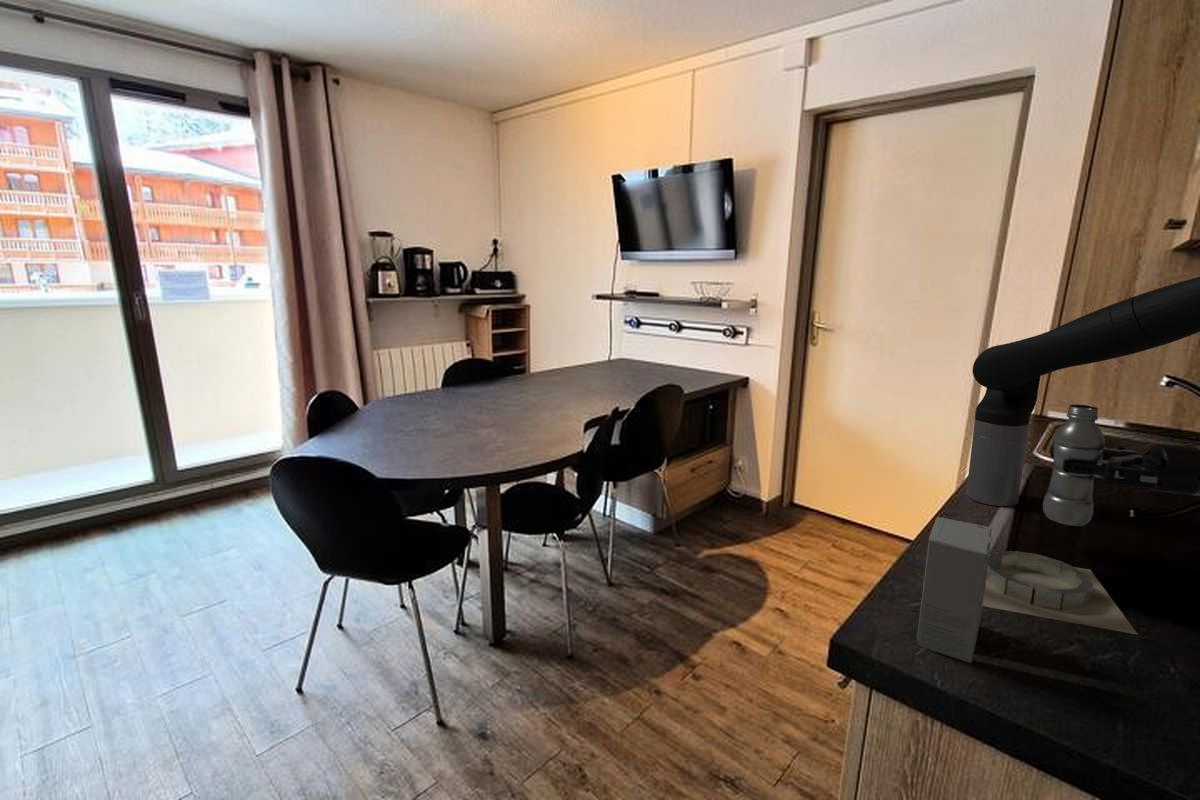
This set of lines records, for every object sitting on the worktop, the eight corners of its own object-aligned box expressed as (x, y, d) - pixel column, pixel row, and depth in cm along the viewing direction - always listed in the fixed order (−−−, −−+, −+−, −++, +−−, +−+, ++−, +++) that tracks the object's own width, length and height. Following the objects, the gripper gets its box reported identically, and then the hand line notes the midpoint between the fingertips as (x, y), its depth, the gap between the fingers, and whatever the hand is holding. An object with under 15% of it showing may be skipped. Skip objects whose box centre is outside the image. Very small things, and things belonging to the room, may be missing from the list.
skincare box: (924, 616, 79) (935, 514, 76) (980, 632, 75) (994, 526, 72) (914, 647, 73) (925, 537, 69) (975, 667, 69) (989, 551, 65)
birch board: (956, 554, 96) (956, 549, 96) (1089, 575, 88) (1090, 569, 88) (973, 610, 80) (973, 604, 80) (1136, 641, 72) (1138, 634, 72)
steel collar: (979, 559, 92) (980, 545, 92) (1073, 574, 87) (1075, 559, 86) (993, 598, 81) (995, 582, 81) (1102, 617, 76) (1105, 601, 75)
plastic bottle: (1071, 514, 96) (1089, 402, 92) (1101, 531, 90) (1122, 411, 86) (1031, 513, 97) (1047, 402, 93) (1058, 530, 91) (1077, 411, 86)
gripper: (1176, 434, 90) (1048, 425, 98) (1225, 462, 78) (1074, 449, 85) (1167, 478, 92) (1042, 466, 99) (1214, 511, 79) (1067, 495, 87)
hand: (1057, 458), depth 92 cm, fingers closed on plastic bottle, 6 cm apart
